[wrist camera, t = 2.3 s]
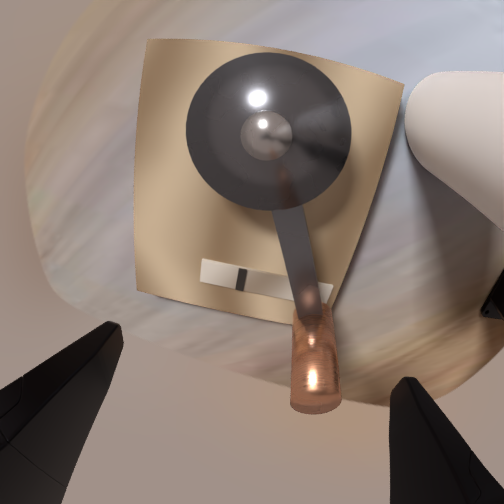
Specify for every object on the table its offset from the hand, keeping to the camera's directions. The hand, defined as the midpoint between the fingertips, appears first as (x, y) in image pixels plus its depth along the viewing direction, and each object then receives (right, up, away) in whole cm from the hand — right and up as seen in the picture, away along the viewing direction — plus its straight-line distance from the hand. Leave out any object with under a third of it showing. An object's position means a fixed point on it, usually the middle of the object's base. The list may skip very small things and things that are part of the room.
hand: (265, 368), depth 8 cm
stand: (-1, +7, +9) cm, 11 cm away
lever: (+2, +6, +7) cm, 9 cm away
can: (+11, +11, +5) cm, 16 cm away
